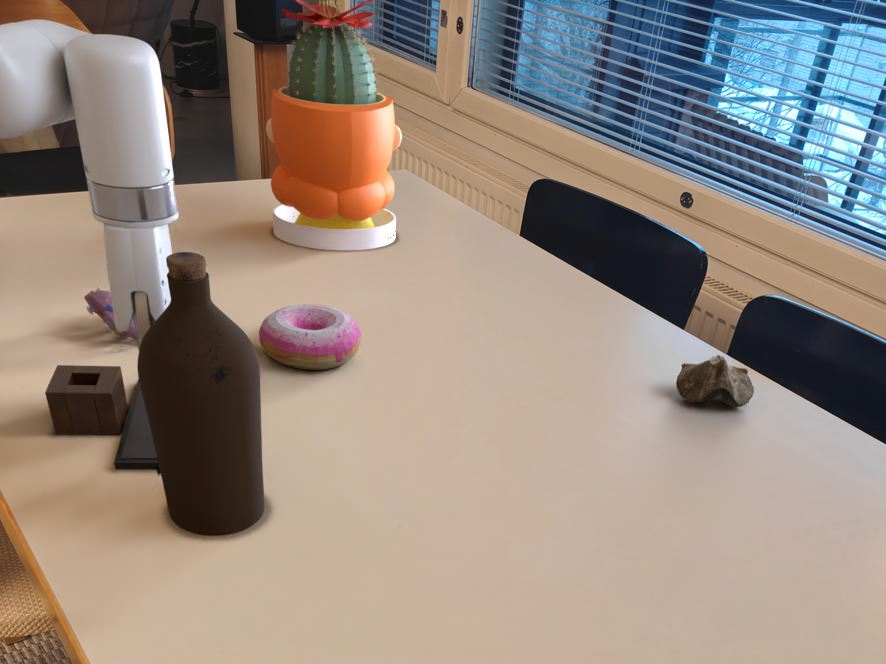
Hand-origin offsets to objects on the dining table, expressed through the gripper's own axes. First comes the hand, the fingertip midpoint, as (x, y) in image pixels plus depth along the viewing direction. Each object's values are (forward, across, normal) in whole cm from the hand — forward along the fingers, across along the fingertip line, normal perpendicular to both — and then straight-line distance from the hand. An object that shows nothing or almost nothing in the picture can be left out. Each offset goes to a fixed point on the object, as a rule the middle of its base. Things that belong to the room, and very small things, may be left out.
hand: (162, 385), depth 94 cm
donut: (+8, -26, +16) cm, 31 cm away
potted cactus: (+8, -74, +20) cm, 77 cm away
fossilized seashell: (+8, -14, +68) cm, 70 cm away
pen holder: (+8, -7, -10) cm, 14 cm away
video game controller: (+8, -31, -10) cm, 33 cm away
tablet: (+8, -6, 0) cm, 10 cm away
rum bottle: (+8, +12, +6) cm, 15 cm away
